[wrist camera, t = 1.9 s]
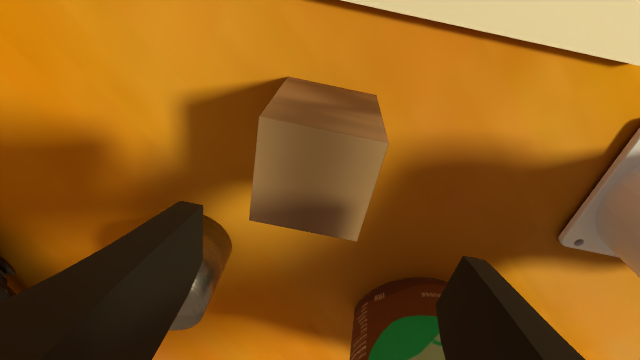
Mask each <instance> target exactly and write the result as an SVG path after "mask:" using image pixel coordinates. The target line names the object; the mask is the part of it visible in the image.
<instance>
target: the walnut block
mask: <svg viewBox="0 0 640 360" xmlns="http://www.w3.org/2000/svg"><path fill="white" fill-rule="evenodd" d="M388 144H389V142H388V139H387V135H386V131H385V127H384V123H383V119H382V115H381V112H380V108H379V104H378V100H377V96H376V95H373V94H368V93H363V92H359V91H354V90H349V89H344V88H340V87H335V86H330V85H326V84H321V83H316V82H311V81H307V80H302V79H297V78H293V77H287V79H286V80H285V81H284V83H283V84H282V85H281V87H280V88H279V90H278V91H277V92H276V94H275V95H274V97H273V98H272V99H271V101H270V102H269V103H268V105H267V106H266V108H265V109H264V110H263V112H262V113H261V115H260V116H259V123H258V133H257V143H256V154H255V164H254V175H253V185H252V196H251V206H250V217H249V220H251V221H256V222H261V223H266V224H271V225H276V226H281V227H286V228H291V229H296V230H301V231H306V232H311V233H316V234H321V235H326V236H331V237H336V238H341V239H346V240H351V241H356V242H357V239H358V236H359V233H360V230H361V227H362V224H363V221H364V218H365V215H366V212H367V209H368V206H369V202H370V199H371V196H372V193H373V190H374V187H375V184H376V181H377V178H378V175H379V172H380V169H381V166H382V163H383V160H384V157H385V154H386V150H387V147H388Z"/></svg>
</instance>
